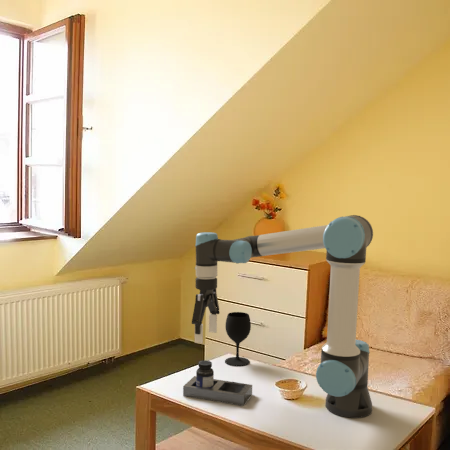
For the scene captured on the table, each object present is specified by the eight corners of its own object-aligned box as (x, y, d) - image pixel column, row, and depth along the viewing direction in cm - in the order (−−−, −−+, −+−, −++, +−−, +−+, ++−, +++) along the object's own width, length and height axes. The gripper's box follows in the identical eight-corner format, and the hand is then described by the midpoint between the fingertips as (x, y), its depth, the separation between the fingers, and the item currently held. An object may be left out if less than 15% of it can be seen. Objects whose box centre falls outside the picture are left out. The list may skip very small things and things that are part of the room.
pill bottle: (194, 390, 186) (194, 360, 186) (210, 388, 188) (211, 358, 187) (198, 397, 181) (198, 366, 180) (215, 395, 182) (216, 364, 182)
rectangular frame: (252, 394, 184) (252, 384, 184) (243, 405, 174) (243, 395, 174) (194, 385, 191) (194, 376, 191) (183, 395, 182) (183, 386, 181)
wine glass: (235, 368, 209) (237, 319, 208) (219, 361, 217) (220, 313, 216) (255, 363, 216) (256, 315, 214) (238, 356, 224) (239, 310, 222)
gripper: (209, 270, 194) (208, 327, 196) (181, 282, 170) (181, 346, 172) (228, 272, 191) (227, 329, 193) (203, 284, 168) (202, 349, 170)
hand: (206, 337), depth 183 cm, fingers open, 13 cm apart
